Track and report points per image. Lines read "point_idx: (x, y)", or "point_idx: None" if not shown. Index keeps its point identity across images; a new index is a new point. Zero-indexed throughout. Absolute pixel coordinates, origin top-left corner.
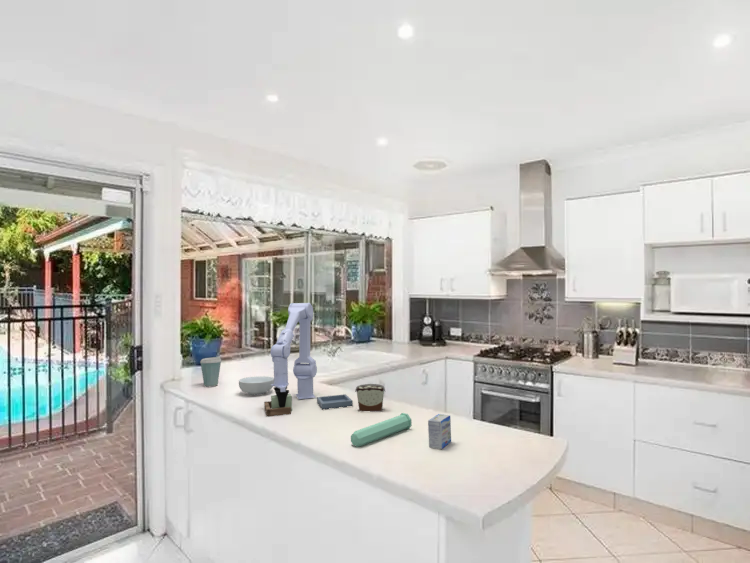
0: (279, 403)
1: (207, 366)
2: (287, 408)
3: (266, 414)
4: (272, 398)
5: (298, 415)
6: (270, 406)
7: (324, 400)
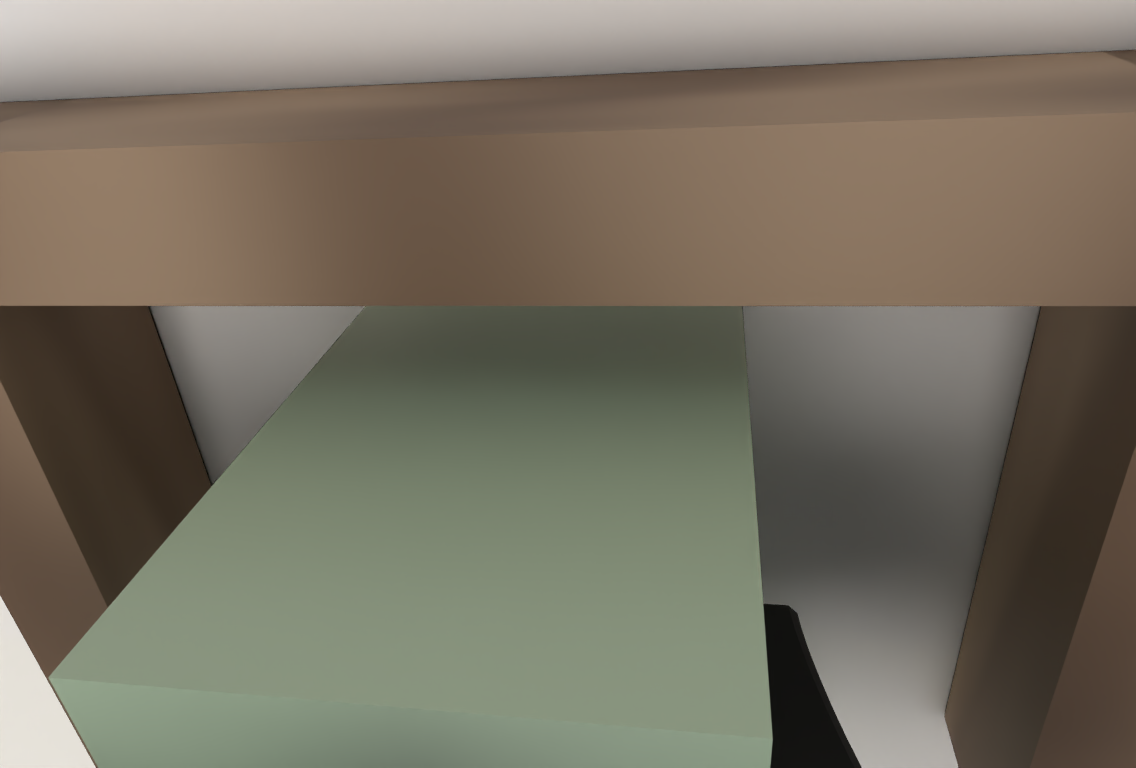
0: None
1: None
2: None
3: (124, 100)
4: (74, 675)
5: None
6: (1070, 312)
7: None
